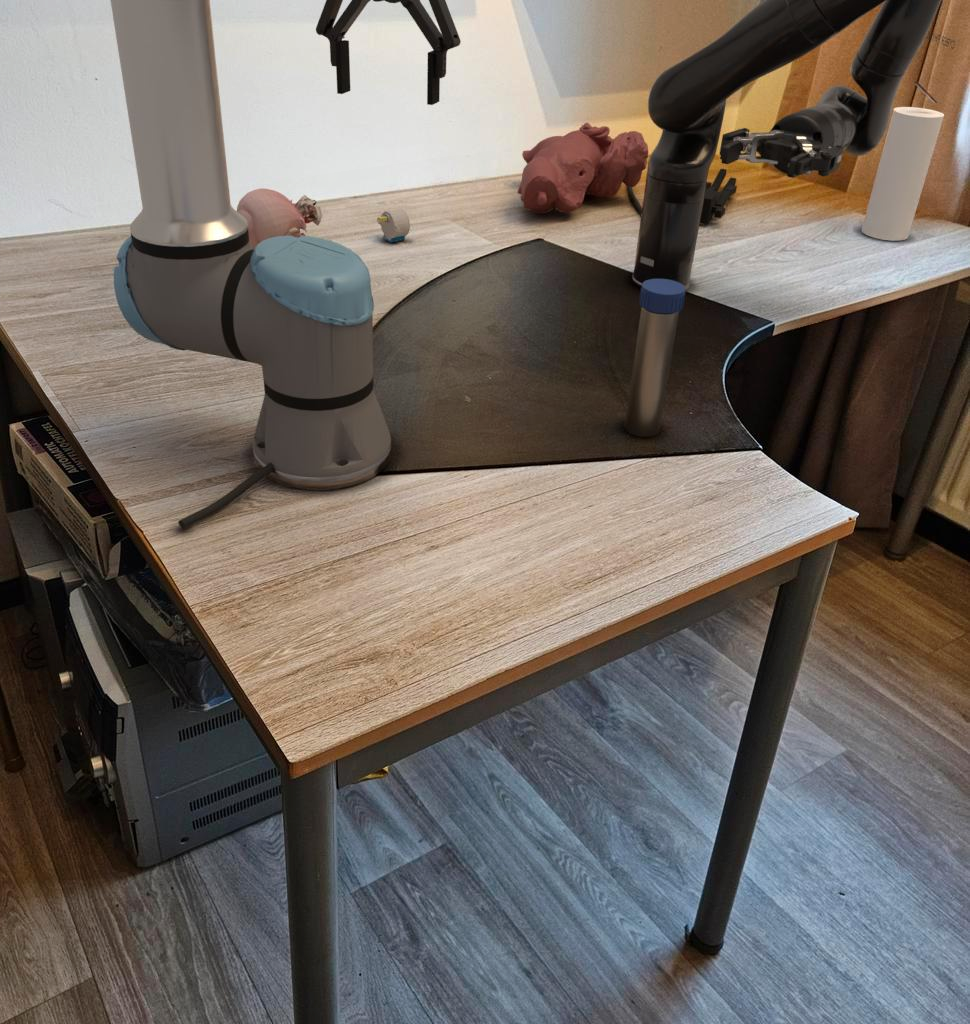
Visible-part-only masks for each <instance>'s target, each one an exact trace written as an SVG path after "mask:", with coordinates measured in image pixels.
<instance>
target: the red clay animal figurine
mask: <svg viewBox="0 0 970 1024" xmlns="http://www.w3.org/2000/svg"><path fill="white" fill-rule="evenodd" d="M610 130H611V129H610V127H608V126H607V125H605V126H604V125H602V126H600V127H598V126H592V125H591V124H590V123H589V122H585V123H584V124H581V126H580V127H579V129H576V130H573V131H570V132H568V133H566V134H565V135H554V136H549V137H546V138H544V139H542V140H540V141H539V142H538V143H536V145H535V146H534V147H532V148H531V149H529V150H523V151H522V153H521V156H522V158H523V160H524V162H525V163H526V164H525V166H524V168H523V170H522V172H521V173H522V174H521V180H520V181H521V182H520V185H519V186H518V189H517V194H518V195H520V200H521V202H522V203H523V207H524V209H525V210H529V211H530V212H532V213H535V214H546V213H549V212H551V211H552V210H553V209H554V208H555V209H556V210H557V211H559V212H560V213H564V214H569V213H573V212H575V211H578V209H579V208H581V206H582V203H584V199H585V195H591V196H593V197H596V198H599V197H604V198H606V197H608V198H610V197H613V196H614V195H617V194H618V192H619V191H620V189H621V186H622V184H624V185H625V186H627V187H628V186H630V187H632V188H635V187H636V186H637V185H638V184H639V183H640V181H641V178H642V174H643V171H645V170H646V169H647V165H648V161H647V160H648V159H649V158H648V157H649V146H648V143H647V142H646V141H645V139H644V135H643V134H642V132H638V131H636V130H631V131H628V132H627V131H624V132H621V133H618V135H617V136H615V137H614V138H612V137H611V136H610V135H609V134H610Z"/></svg>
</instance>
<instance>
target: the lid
mask: <svg viewBox="0 0 970 1024" xmlns="http://www.w3.org/2000/svg"><path fill="white" fill-rule="evenodd" d="M686 290H687V289H686V288H685V286H684V285H682V284H681V283H679V282H676V281H673V280H668V279H650V280H646V281H644V282H643V283H642V288H641V287H640V291H639V299H638V304H639V305H640V307H641V308H644V309H646V310H648V311H651V312H656V313H663V314H669V313H676V312H679V313H680V312H681V311H682V310H683V308H684V305H685V300H686V293H687V292H686Z"/></svg>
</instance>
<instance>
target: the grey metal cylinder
mask: <svg viewBox="0 0 970 1024" xmlns="http://www.w3.org/2000/svg"><path fill="white" fill-rule="evenodd" d="M679 315H680V311H679V312H676V313H669V314H663V313H656V312H651V311H648V310H646V309H644V308H642V307H641V308H640V315H639V323H638V324H639V325H638V330H637V337H636V343H635V349H634V357H633V358H634V359H633V365H632V372H631V379H630V384H629V392H628V397H627V398H628V400H627V407H626V414H625V420H624V429H625V431H626V432H627V433H628V434H630V435H632V436H634V437H638V438H652V437H655V436H657V435H658V434H659V433H660V429H661V424H662V416H663V410H664V405H665V399H666V393H667V387H668V381H669V375H670V368H671V363H672V357H673V351H674V345H675V339H676V333H677V327H678V320H679Z"/></svg>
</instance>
